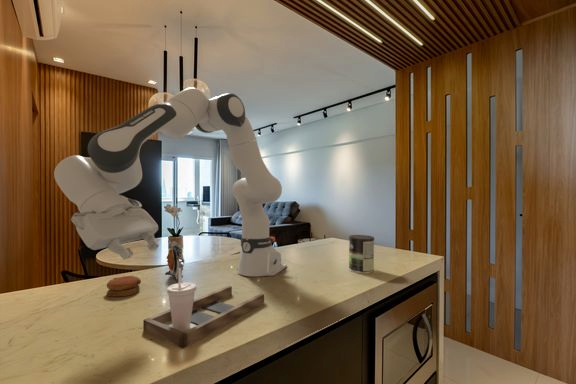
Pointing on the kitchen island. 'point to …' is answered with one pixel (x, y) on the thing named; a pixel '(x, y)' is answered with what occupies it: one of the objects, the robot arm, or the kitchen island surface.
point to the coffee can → (361, 253)
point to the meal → (175, 260)
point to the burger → (123, 286)
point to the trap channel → (200, 318)
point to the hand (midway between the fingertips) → (143, 252)
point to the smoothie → (181, 303)
